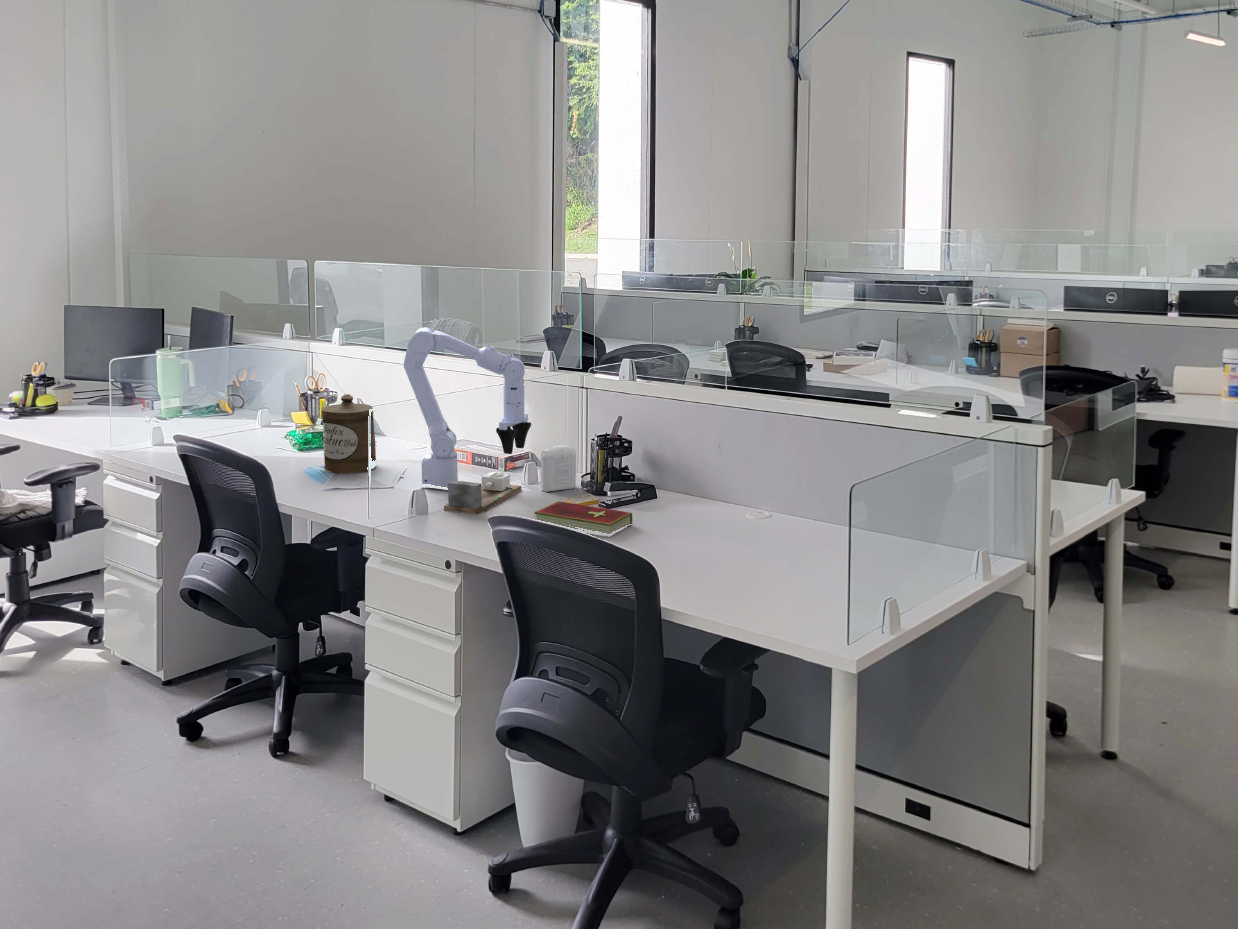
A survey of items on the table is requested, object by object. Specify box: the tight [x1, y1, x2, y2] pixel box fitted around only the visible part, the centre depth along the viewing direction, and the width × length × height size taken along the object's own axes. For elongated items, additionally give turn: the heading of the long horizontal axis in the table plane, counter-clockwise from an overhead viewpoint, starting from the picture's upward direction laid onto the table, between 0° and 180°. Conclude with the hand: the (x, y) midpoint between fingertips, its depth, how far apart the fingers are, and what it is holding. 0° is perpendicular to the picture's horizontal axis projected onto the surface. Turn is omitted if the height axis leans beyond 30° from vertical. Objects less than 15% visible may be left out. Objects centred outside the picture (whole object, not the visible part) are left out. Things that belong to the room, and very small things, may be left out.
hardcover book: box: [533, 500, 633, 534], centre depth 265 cm, size 12×21×4 cm, turn 63°
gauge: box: [481, 471, 512, 491], centre depth 292 cm, size 8×8×4 cm
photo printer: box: [540, 444, 577, 493], centre depth 298 cm, size 10×4×12 cm, turn 123°
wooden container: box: [321, 393, 377, 474], centre depth 317 cm, size 15×15×22 cm
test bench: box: [443, 480, 522, 515], centre depth 287 cm, size 10×26×7 cm, turn 161°
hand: (514, 450), depth 299 cm, fingers open, 7 cm apart
